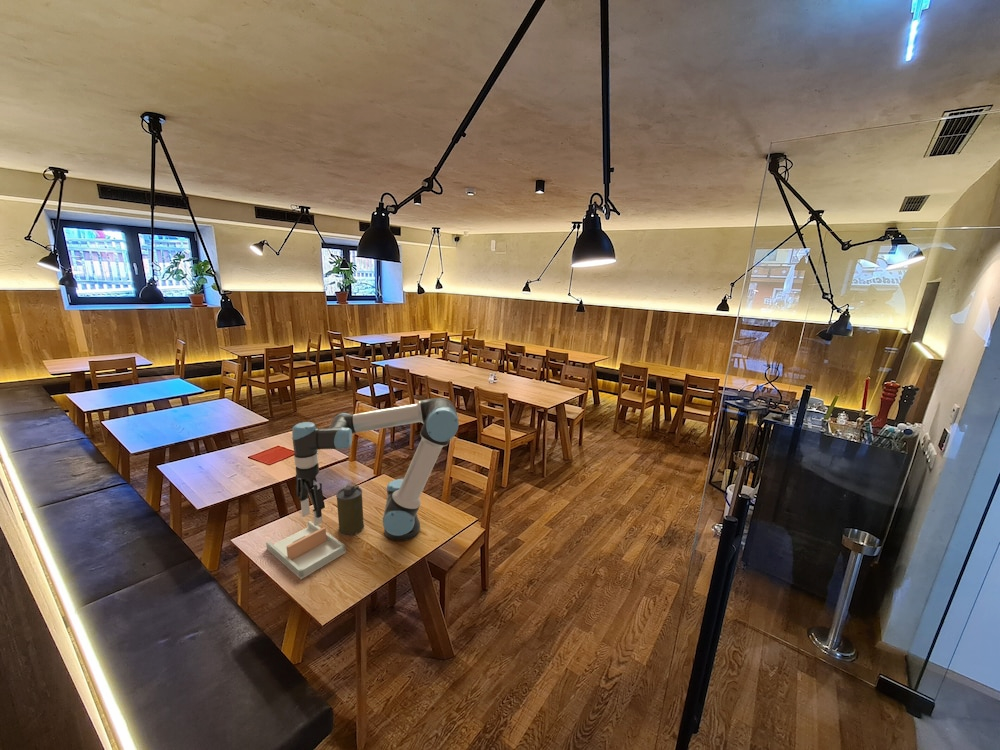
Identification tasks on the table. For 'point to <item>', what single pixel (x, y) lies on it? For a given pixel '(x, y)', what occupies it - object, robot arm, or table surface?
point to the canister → (350, 510)
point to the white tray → (311, 558)
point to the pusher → (306, 543)
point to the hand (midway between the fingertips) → (312, 519)
